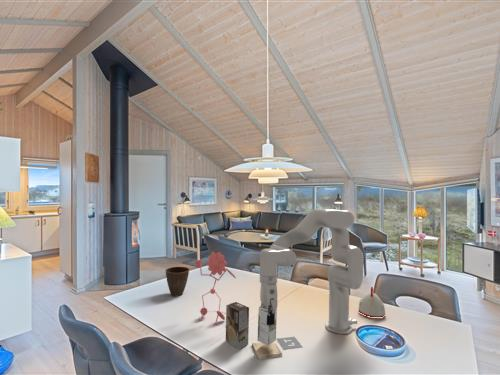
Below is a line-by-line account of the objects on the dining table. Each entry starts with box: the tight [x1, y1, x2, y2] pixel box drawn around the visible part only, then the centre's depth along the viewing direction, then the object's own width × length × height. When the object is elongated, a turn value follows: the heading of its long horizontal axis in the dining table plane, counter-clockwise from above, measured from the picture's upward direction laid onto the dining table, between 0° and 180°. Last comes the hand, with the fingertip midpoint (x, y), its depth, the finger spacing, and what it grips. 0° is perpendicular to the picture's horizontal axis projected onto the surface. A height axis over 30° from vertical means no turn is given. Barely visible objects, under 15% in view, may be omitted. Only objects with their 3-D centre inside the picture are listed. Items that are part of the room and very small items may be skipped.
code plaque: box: [276, 336, 304, 350], centre depth 124 cm, size 9×9×1 cm
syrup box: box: [257, 305, 278, 345], centre depth 118 cm, size 6×6×14 cm
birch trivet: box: [251, 341, 283, 360], centre depth 117 cm, size 10×10×1 cm
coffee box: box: [225, 301, 250, 350], centre depth 124 cm, size 9×6×16 cm
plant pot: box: [165, 266, 190, 297], centre depth 181 cm, size 15×15×16 cm
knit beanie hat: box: [358, 286, 386, 317], centre depth 159 cm, size 14×14×15 cm
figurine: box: [194, 251, 237, 328], centre depth 149 cm, size 15×26×35 cm, turn 64°
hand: (267, 320), depth 118 cm, fingers closed on syrup box, 7 cm apart
